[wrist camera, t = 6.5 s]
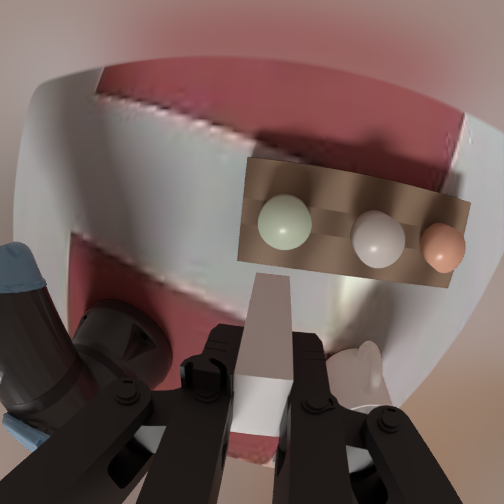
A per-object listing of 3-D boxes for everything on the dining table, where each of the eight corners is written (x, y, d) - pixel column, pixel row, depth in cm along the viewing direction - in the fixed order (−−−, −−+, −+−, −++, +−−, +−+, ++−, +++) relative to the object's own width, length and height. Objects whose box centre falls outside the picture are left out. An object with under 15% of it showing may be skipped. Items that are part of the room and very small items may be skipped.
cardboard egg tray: (241, 250, 31) (237, 260, 28) (251, 157, 27) (247, 157, 25) (436, 277, 29) (447, 288, 26) (457, 198, 26) (470, 202, 23)
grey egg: (341, 248, 26) (350, 264, 22) (350, 203, 24) (361, 211, 21) (383, 254, 26) (397, 271, 22) (392, 211, 24) (410, 221, 20)
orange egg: (408, 255, 27) (424, 270, 23) (418, 215, 25) (436, 224, 21) (439, 260, 26) (457, 275, 22) (449, 222, 25) (469, 232, 21)
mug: (335, 319, 32) (349, 378, 23) (394, 324, 32) (422, 378, 22) (312, 387, 36) (315, 445, 27) (365, 389, 36) (378, 444, 26)
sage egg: (259, 233, 28) (254, 246, 24) (264, 188, 26) (260, 194, 22) (304, 239, 27) (307, 253, 23) (310, 194, 26) (315, 201, 22)
